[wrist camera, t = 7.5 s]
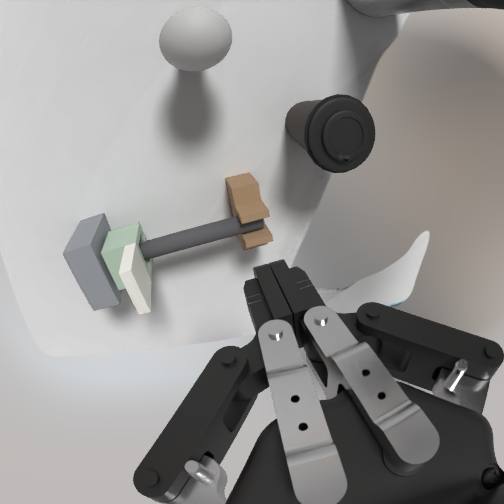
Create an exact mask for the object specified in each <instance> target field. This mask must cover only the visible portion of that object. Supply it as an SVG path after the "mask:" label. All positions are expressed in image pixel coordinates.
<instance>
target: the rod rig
mask: <svg viewBox="0 0 504 504" xmlns="http://www.w3.org/2000/svg"><path fill="white" fill-rule="evenodd" d="M225 179H226V184H227V189H228V194H229V198H230V203H231V208H232V213H233V217H232V218H228V219H225V220H221V221H217V222H213V223H210V224H206V225H202V226H198V227H195V228H191V229H187V230H184V231H180V232H177V233H173V234H169V235H166V236H162V237H159V238H155V239H152V240H148V241H145V242H141V243H139V247H140V250H141V252H142V255H143V257H144V260H147V259H151V258H155V257H158V256H162V255H165V254H169V253H172V252H176V251H180V250H183V249H187V248H191V247H194V246H198V245H202V244H205V243H209V242H213V241H216V240H220V239H224V238H227V237H231V236H235V235H237V236H238V238H239V240H240V243H241V245H242V247H243V249H244V250H247V249H251V248H254V247H258V246H262V245H265V244H268V243H267V242H271V241H273V237H272V234H271V232H270V231H269V229H268V228H267V226H266V225H265V223H264V218H267V217H270V216H269V210H268V208H267V207H266V206H265V205H264V203H263V202H262V201H261V198H260V191H259V185H258V182H257V181H256V180H255V178H254V177H253V176H252V175H251V174H250V173H246V174H241V175H237V176H233V177H229V178H225ZM109 231H111V229H110V226H109V224H108V221H107V219H106V216H105V214H104V213H103V214H100V215H97V216H94V217H91V218H88V219H85V220H82V221H80V223H79V225H78V226H77V228H76V230H75V232H74V233H73V235H72V237H71V239H70V241H69V242H68V244H67V246H66V248H65V250H64V252H63V256H64V258H65V260H66V261H67V263H68V265H69V267H70V269H71V271H72V273H73V275H74V277H75V279H76V281H77V282H78V284H79V286H80V288H81V290H82V291H83V293H84V295H85V297H86V298H87V300H88V302H89V304H90V305H91V307H92V309H93V310H94V311H95V310H99V309H103V308H107V307H111V306H115V305H119V304H120V299H121V292H122V290H118V288H117V286H116V284H115V282H114V280H113V278H112V276H111V273H110V271H109V269H108V267H107V265H106V263H105V261H104V259H103V256H102V254H101V251H102V249H103V246H104V243H105V240H106V237H107V234H108V232H109Z"/></svg>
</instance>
